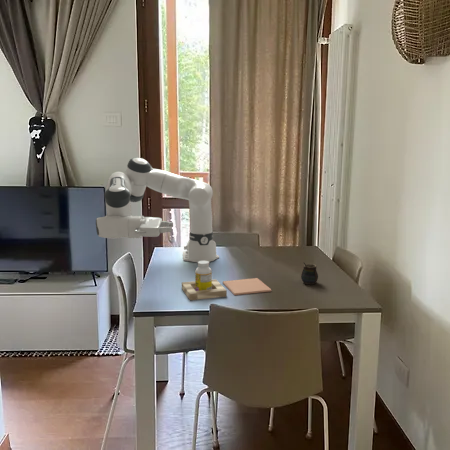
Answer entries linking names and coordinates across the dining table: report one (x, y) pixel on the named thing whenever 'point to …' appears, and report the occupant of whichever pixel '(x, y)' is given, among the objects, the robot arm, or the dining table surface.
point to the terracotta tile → (246, 286)
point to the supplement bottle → (203, 276)
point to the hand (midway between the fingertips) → (172, 226)
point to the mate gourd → (309, 274)
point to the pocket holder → (204, 291)
